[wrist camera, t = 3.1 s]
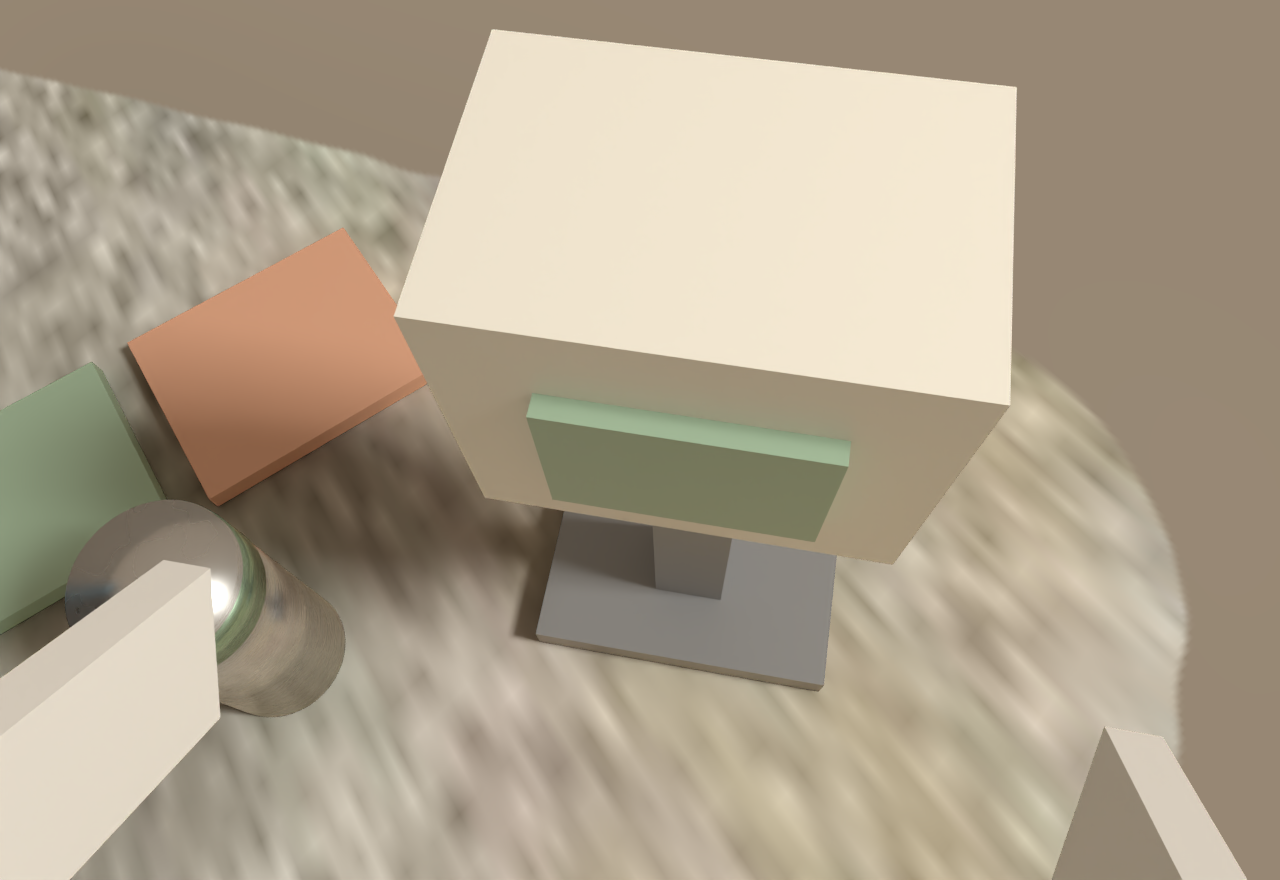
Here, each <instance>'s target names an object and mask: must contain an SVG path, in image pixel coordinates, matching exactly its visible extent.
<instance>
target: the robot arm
mask: <svg viewBox="0 0 1280 880" xmlns="http://www.w3.org/2000/svg"><path fill="white" fill-rule="evenodd" d="M219 719H220V704H219V689H218V675H217V660H216V645H215V630H214V615H213V600H212V585H211V570H210V568H206V567H201V566H195V565H189V564H184V563H178V562H172V561H167V560H163V561H161V562H160V563H159V564H157V565H156V566H155V567H153V568H152V569H150V570H149V571H148V572H146V573H145V574H143V575H142V576H141V577H139V578H138V579H137V580H135V581H134V582H132V583H131V584H130V585H128V586H127V587H126V588H124V589H123V590H121V591H120V592H119V593H117V594H116V595H115V596H113V597H112V598H110V599H109V600H108V601H106V602H105V603H104V604H102V605H101V606H99V607H98V608H97V609H95V610H94V611H93V612H91V613H90V614H88V615H87V616H86V617H84V618H83V619H82V620H80V621H79V622H77V623H76V624H75V625H73V626H72V627H70V628H69V629H68V630H66V631H65V632H64V633H62V634H61V635H59V636H58V637H57V638H55V639H54V640H53V641H51V642H50V643H48V644H47V645H46V646H44V647H43V648H42V649H40V650H39V651H37V652H36V653H35V654H33V655H32V656H31V657H29V658H28V659H26V660H25V661H24V662H22V663H21V664H20V665H18V666H17V667H15V668H14V669H13V670H11V671H10V672H9V673H7V674H6V675H4V676H3V677H2V678H0V880H70V879H71V878H72V877H73V876H74V875H75V873H76V872H77V871H78V870H79V869H80V868H81V867H82V866H83V865H84V864H85V863H86V862H87V861H88V859H89V858H90V857H91V856H92V855H93V854H94V853H95V852H96V851H97V850H98V849H99V848H100V847H101V845H102V844H103V843H104V842H105V841H106V840H107V839H108V838H109V837H110V836H111V835H112V834H113V833H114V831H115V830H116V829H117V828H118V827H119V826H120V825H121V824H122V823H123V822H124V821H125V820H126V819H127V818H128V816H129V815H130V814H131V813H132V812H133V811H134V810H135V809H136V808H137V807H138V806H139V805H140V804H141V802H142V801H143V800H144V799H145V798H146V797H147V796H148V795H149V794H150V793H151V792H152V791H153V790H154V788H155V787H156V786H157V785H158V784H159V783H160V782H161V781H162V780H163V779H164V778H165V777H166V776H167V774H168V773H169V772H170V771H171V770H172V769H173V768H174V767H175V766H176V765H177V764H178V763H179V762H180V760H181V759H182V758H183V757H184V756H185V755H186V754H187V753H188V752H189V751H190V750H191V749H192V748H193V747H194V745H195V744H196V743H197V742H198V741H199V740H200V739H201V738H202V737H203V736H204V735H205V734H206V733H207V731H208V730H209V729H210V728H211V727H212V726H213V725H214V724H215V723H216V722H217V721H218V720H219ZM1052 880H1247V879H1246V877H1245V875H1244V873H1243V872H1242V870H1241V868H1240V867H1239V865H1238V863H1237V862H1236V860H1235V858H1234V857H1233V855H1232V853H1231V851H1230V850H1229V848H1228V846H1227V845H1226V843H1225V841H1224V840H1223V838H1222V836H1221V835H1220V833H1219V831H1218V829H1217V828H1216V826H1215V825H1214V823H1213V821H1212V819H1211V818H1210V816H1209V814H1208V813H1207V811H1206V809H1205V807H1204V806H1203V804H1202V803H1201V801H1200V799H1199V797H1198V796H1197V794H1196V792H1195V791H1194V789H1193V787H1192V786H1191V784H1190V782H1189V780H1188V779H1187V777H1186V775H1185V774H1184V772H1183V770H1182V769H1181V767H1180V765H1179V763H1178V762H1177V760H1176V758H1175V757H1174V755H1173V753H1172V752H1171V750H1170V748H1169V747H1168V745H1167V743H1166V741H1165V740H1164V738H1163V737H1162V736H1156V735H1151V734H1145V733H1139V732H1134V731H1128V730H1122V729H1117V728H1111V727H1105V726H1104V729H1103V732H1102V735H1101V738H1100V741H1099V744H1098V747H1097V750H1096V752H1095V755H1094V758H1093V761H1092V764H1091V767H1090V770H1089V773H1088V776H1087V779H1086V781H1085V784H1084V787H1083V790H1082V793H1081V796H1080V799H1079V802H1078V805H1077V808H1076V810H1075V813H1074V816H1073V819H1072V822H1071V825H1070V828H1069V831H1068V834H1067V837H1066V840H1065V842H1064V845H1063V848H1062V851H1061V854H1060V857H1059V860H1058V863H1057V866H1056V869H1055V871H1054V874H1053V877H1052Z"/></svg>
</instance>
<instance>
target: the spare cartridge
mask: <svg viewBox="0 0 1280 880" xmlns="http://www.w3.org/2000/svg"><path fill="white" fill-rule="evenodd" d="M163 560H167V561H172V562H178V563H184V564H189V565H195V566H201V567H206V568H210V570H211V585H212V600H213V615H214V630H215V645H216V660H217V675H218V689H219V703H222V704H225V705H228V706H231V707H233V708H236V709H239V710H242V711H244V712H247V713H250V714H253V715H257V716H261V717H280V716H286V715H289V714H293V713H295V712H298V711H300V710H302V709H304V708H306V707H307V706H309V705H311V704H312V703H313V702H315V701H316V700H317V699H318V698H319V697H321V696H322V695H323V694H324V693H325V691H326V690H327V689H328V688H329V687H330V685H331V684H332V683H333V681H334V680H335V678H336V676H337V674H338V672H339V670H340V667H341V665H342V662H343V658H344V653H345V632H344V627H343V624H342V621H341V619H340V617H339V615H338V613H337V612H336V610H335V609H334V608H333V607H332V605H331V604H330V603H329V602H327V601H326V600H325V599H324V598H322V597H321V596H320V595H319V594H317V593H316V592H315V591H313V590H312V589H311V588H309V587H308V586H307V585H306V584H304V583H303V582H302V581H300V580H299V579H298V578H297V577H295V576H294V575H293V574H291V573H290V572H289V571H287V570H286V569H285V568H284V567H282V566H281V565H280V564H278V563H277V562H276V561H275V560H273V559H272V558H271V557H269V556H268V555H267V554H265V553H264V552H263V551H262V550H260V549H259V548H258V547H256V546H255V545H254V544H253V543H252V542H251V541H250V540H249V539H248V538H247V537H245V536H244V535H243V534H242V533H241V532H239V531H238V530H237V529H235V528H234V527H233V526H232V525H230V524H229V523H228V522H226V521H225V520H224V519H223V518H221V517H220V516H219V515H217V514H215V513H214V512H212V511H210V510H208V509H206V508H204V507H202V506H200V505H197V504H195V503H192V502H187V501H182V500H159V501H152V502H148V503H144V504H141V505H138V506H136V507H133V508H131V509H129V510H127V511H125V512H123V513H121V514H119V515H118V516H116V517H114V518H113V519H111V520H110V521H109V522H107V523H106V524H105V525H104V526H102V527H101V528H100V529H99V530H98V531H97V532H96V533H95V534H94V535H93V536H92V537H91V538H90V540H89V541H88V542H87V543H86V544H85V546H84V547H83V549H82V550H81V552H80V553H79V555H78V556H77V558H76V560H75V562H74V564H73V566H72V569H71V572H70V574H69V577H68V581H67V585H66V592H65V611H66V617H67V620H68V623H69V626H70V627H72V626H73V625H75V624H76V623H77V622H79V621H80V620H82V619H83V618H84V617H86V616H87V615H88V614H90V613H91V612H93V611H94V610H95V609H97V608H98V607H99V606H101V605H102V604H104V603H105V602H106V601H108V600H109V599H110V598H112V597H113V596H115V595H116V594H117V593H119V592H120V591H121V590H123V589H124V588H126V587H127V586H128V585H130V584H131V583H132V582H134V581H135V580H137V579H138V578H139V577H141V576H142V575H143V574H145V573H146V572H148V571H149V570H150V569H152V568H153V567H155V566H156V565H157V564H159V563H160V562H161V561H163Z"/></svg>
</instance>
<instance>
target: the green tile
mask: <svg viewBox="0 0 1280 880" xmlns="http://www.w3.org/2000/svg"><path fill="white" fill-rule="evenodd" d="M159 500H167V499H166V497H165V495H164V493H163V491H162V489H161V487H160V485H159V483H158V481H157V479H156V477H155V475H154V473H153V471H152V469H151V467H150V465H149V463H148V461H147V459H146V457H145V455H144V453H143V451H142V449H141V447H140V445H139V443H138V441H137V439H136V437H135V435H134V433H133V431H132V429H131V427H130V425H129V423H128V421H127V419H126V417H125V415H124V413H123V411H122V409H121V407H120V405H119V403H118V401H117V399H116V397H115V395H114V393H113V391H112V389H111V387H110V385H109V383H108V381H107V379H106V377H105V375H104V373H103V371H102V370H101V369H99V368H98V367H97V366H96V365H95V364H94V363H93V362H90V363H89V364H87V365H85V366H83V367H81V368H79V369H77V370H75V371H74V372H72V373H70V374H68V375H66V376H64V377H62V378H60V379H59V380H57V381H55V382H53V383H51V384H49V385H47V386H45V387H44V388H42V389H40V390H38V391H36V392H34V393H32V394H30V395H29V396H27V397H25V398H23V399H21V400H19V401H17V402H15V403H14V404H12V405H10V406H8V407H6V408H4V409H2V410H0V634H2V633H4V632H6V631H7V630H9V629H11V628H12V627H14V626H16V625H17V624H19V623H21V622H23V621H24V620H26V619H28V618H29V617H31V616H33V615H35V614H36V613H38V612H40V611H41V610H43V609H45V608H46V607H48V606H50V605H52V604H53V603H55V602H57V601H58V600H60V599H62V598H63V597H65V592H66V585H67V581H68V577H69V574H70V572H71V569H72V566H73V564H74V562H75V560H76V558H77V556H78V555H79V553H80V552H81V550H82V549H83V547H84V546H85V544H86V543H87V542H88V541H89V540H90V538H91V537H92V536H93V535H94V534H95V533H96V532H97V531H98V530H99V529H100V528H101V527H102V526H104V525H105V524H106V523H107V522H109V521H110V520H111V519H113V518H114V517H116V516H118V515H119V514H121V513H123V512H125V511H127V510H129V509H131V508H133V507H136V506H138V505H141V504H144V503H148V502H152V501H159Z"/></svg>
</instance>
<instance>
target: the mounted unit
mask: <svg viewBox="0 0 1280 880" xmlns="http://www.w3.org/2000/svg"><path fill="white" fill-rule="evenodd" d="M1016 91H1017V88H1016V87H1010V86H1001V85H991V84H983V83H974V82H965V81H954V80H946V79H938V78H929V77H919V76H910V75H901V74H891V73H883V72H873V71H865V70H856V69H846V68H838V67H828V66H819V65H811V64H801V63H791V62H783V61H774V60H765V59H755V58H747V57H738V56H728V55H720V54H710V53H702V52H692V51H684V50H675V49H666V48H656V47H647V46H638V45H629V44H620V43H611V42H602V41H593V40H584V39H575V38H566V37H557V36H548V35H539V34H529V33H520V32H511V31H502V30H492V31H491V34H490V37H489V40H488V43H487V46H486V49H485V52H484V55H483V57H482V60H481V63H480V66H479V69H478V72H477V75H476V78H475V81H474V84H473V86H472V89H471V92H470V95H469V98H468V101H467V104H466V107H465V110H464V113H463V116H462V119H461V121H460V124H459V127H458V130H457V133H456V136H455V139H454V142H453V145H452V148H451V151H450V154H449V156H448V159H447V162H446V165H445V168H444V171H443V174H442V177H441V180H440V182H439V185H438V188H437V191H436V194H435V197H434V200H433V203H432V206H431V209H430V212H429V214H428V217H427V220H426V223H425V226H424V229H423V232H422V235H421V238H420V241H419V244H418V247H417V249H416V252H415V255H414V258H413V261H412V264H411V267H410V270H409V273H408V276H407V279H406V281H405V284H404V287H403V290H402V293H401V296H400V299H399V302H398V305H397V308H396V311H395V313H394V318H395V320H396V322H397V324H398V326H399V328H400V330H401V332H402V334H403V336H404V338H405V340H406V342H407V344H408V346H409V348H410V350H411V352H412V354H413V356H414V358H415V360H416V362H417V364H418V366H419V368H420V370H421V372H422V374H423V376H424V378H425V380H426V382H427V384H428V386H429V388H430V390H431V392H432V394H433V396H434V398H435V400H436V402H437V404H438V406H439V408H440V410H441V412H442V414H443V416H444V418H445V420H446V422H447V424H448V426H449V428H450V430H451V432H452V434H453V436H454V438H455V440H456V442H457V444H458V446H459V448H460V450H461V452H462V454H463V456H464V458H465V460H466V462H467V464H468V465H469V467H470V469H471V471H472V473H473V475H474V477H475V479H476V481H477V483H478V485H479V487H480V489H481V491H482V493H483V495H484V497H485V498H489V499H495V500H501V501H507V502H513V503H519V504H525V505H531V506H538V507H544V508H550V509H556V510H562V511H564V513H563V518H562V522H561V526H560V531H559V535H558V539H557V544H556V548H555V552H554V557H553V561H552V565H551V570H550V574H549V578H548V583H547V587H546V591H545V596H544V600H543V604H542V609H541V613H540V617H539V622H538V626H537V630H536V636H537V637H538V639H539V641H541V642H546V643H552V644H557V645H563V646H569V647H574V648H580V649H585V650H591V651H596V652H602V653H608V654H613V655H619V656H624V657H630V658H636V659H641V660H647V661H652V662H658V663H663V664H669V665H675V666H680V667H686V668H691V669H697V670H702V671H708V672H714V673H719V674H725V675H730V676H736V677H742V678H747V679H753V680H758V681H764V682H769V683H775V684H781V685H786V686H792V687H797V688H803V689H809V690H814V691H819V690H820V689H821V688H822V687H823V686H824V678H825V668H826V658H827V648H828V637H829V627H830V617H831V607H832V597H833V587H834V577H835V567H836V557H837V556H843V557H849V558H855V559H861V560H867V561H873V562H879V563H885V564H891V565H893V564H894V562H895V561H896V560H897V558H898V557H899V556H900V554H901V553H902V551H903V550H904V549H905V547H906V546H907V545H908V543H909V542H910V541H911V539H912V538H913V537H914V535H915V534H916V532H917V531H918V530H919V528H920V527H921V526H922V524H923V523H924V522H925V520H926V519H927V518H928V516H929V515H930V514H931V512H932V511H933V509H934V508H935V507H936V505H937V504H938V503H939V501H940V500H941V499H942V497H943V496H944V495H945V493H946V492H947V490H948V489H949V488H950V486H951V485H952V484H953V482H954V481H955V480H956V478H957V477H958V476H959V474H960V473H961V471H962V470H963V469H964V467H965V466H966V465H967V463H968V462H969V461H970V459H971V458H972V457H973V455H974V454H975V453H976V451H977V450H978V448H979V447H980V446H981V444H982V443H983V442H984V440H985V439H986V438H987V436H988V435H989V434H990V432H991V431H992V429H993V428H994V427H995V425H996V424H997V423H998V421H999V420H1000V419H1001V417H1002V416H1003V415H1004V413H1005V412H1006V411H1007V409H1008V408H1009V406H1010V388H1011V336H1012V289H1013V287H1012V285H1013V240H1014V237H1013V236H1014V190H1015V189H1014V188H1015V141H1016V140H1015V139H1016Z"/></svg>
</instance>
